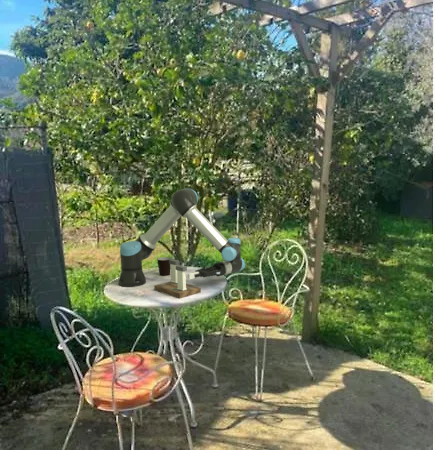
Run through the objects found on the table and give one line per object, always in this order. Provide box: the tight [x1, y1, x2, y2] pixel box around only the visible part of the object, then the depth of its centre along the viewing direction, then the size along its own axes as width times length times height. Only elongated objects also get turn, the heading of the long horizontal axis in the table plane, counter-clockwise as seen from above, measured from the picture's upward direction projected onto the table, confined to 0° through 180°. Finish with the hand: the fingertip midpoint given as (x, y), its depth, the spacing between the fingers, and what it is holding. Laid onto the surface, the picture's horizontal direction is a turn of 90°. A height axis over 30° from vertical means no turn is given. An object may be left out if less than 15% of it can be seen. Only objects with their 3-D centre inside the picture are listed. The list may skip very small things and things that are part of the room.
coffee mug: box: [156, 256, 172, 277], centre depth 271 cm, size 12×9×10 cm
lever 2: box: [176, 264, 188, 291], centre depth 227 cm, size 3×6×12 cm, turn 43°
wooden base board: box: [153, 281, 202, 299], centre depth 234 cm, size 14×22×3 cm, turn 43°
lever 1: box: [169, 258, 181, 283], centre depth 241 cm, size 3×6×12 cm, turn 43°
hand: (188, 276), depth 230 cm, fingers closed
